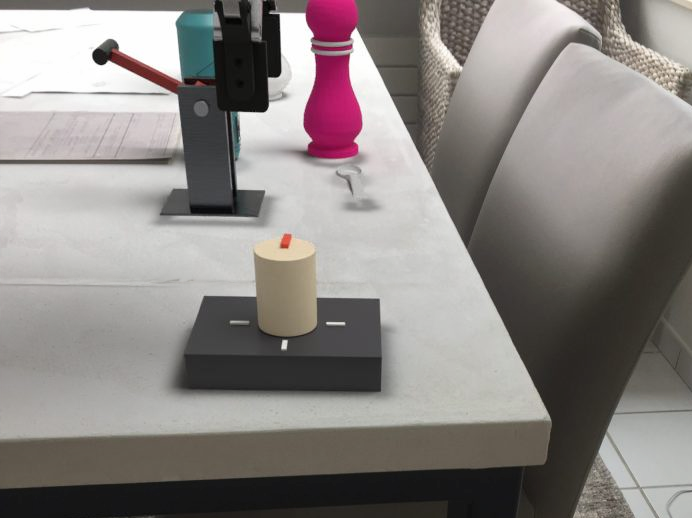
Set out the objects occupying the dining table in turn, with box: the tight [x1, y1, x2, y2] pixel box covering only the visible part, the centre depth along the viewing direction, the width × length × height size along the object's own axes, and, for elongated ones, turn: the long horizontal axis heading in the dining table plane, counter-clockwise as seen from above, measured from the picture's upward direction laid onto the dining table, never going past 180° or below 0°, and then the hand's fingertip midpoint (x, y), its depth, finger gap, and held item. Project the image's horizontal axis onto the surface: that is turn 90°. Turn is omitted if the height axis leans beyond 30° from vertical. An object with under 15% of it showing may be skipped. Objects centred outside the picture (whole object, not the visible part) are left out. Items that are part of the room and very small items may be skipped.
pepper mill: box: [302, 0, 364, 160], centre depth 105 cm, size 7×7×20 cm
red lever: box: [91, 38, 205, 96], centre depth 87 cm, size 12×5×2 cm, turn 91°
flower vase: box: [268, 52, 293, 102], centre depth 129 cm, size 13×18×25 cm
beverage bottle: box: [174, 7, 242, 159], centre depth 101 cm, size 6×7×20 cm
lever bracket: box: [159, 76, 266, 218], centre depth 91 cm, size 10×8×13 cm
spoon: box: [336, 163, 368, 199], centre depth 101 cm, size 3×12×2 cm, turn 10°
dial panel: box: [183, 295, 383, 393], centre depth 68 cm, size 14×10×3 cm
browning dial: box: [253, 233, 318, 337], centre depth 65 cm, size 4×4×6 cm
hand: (251, 92), depth 60 cm, fingers open, 9 cm apart
